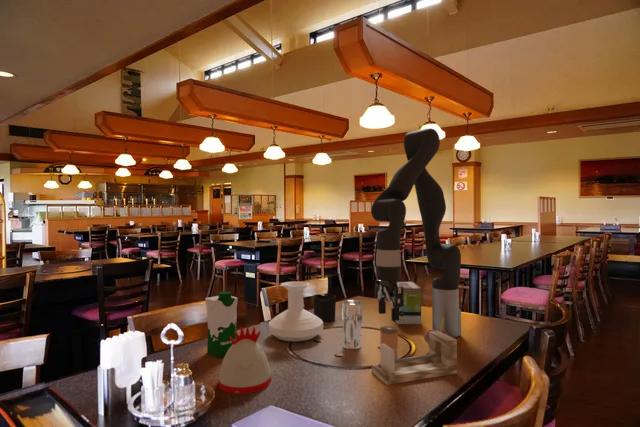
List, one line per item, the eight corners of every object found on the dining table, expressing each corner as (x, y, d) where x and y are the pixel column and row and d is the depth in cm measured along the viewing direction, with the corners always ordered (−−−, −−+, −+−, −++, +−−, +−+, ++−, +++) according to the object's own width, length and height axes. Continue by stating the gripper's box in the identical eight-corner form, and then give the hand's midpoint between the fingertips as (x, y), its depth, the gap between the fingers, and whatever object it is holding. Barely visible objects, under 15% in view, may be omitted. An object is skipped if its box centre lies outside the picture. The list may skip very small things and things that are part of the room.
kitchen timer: (275, 389, 105) (274, 332, 105) (220, 397, 101) (219, 337, 101) (266, 369, 119) (266, 318, 119) (218, 375, 115) (217, 322, 115)
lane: (438, 362, 123) (437, 330, 123) (456, 373, 114) (456, 339, 114) (371, 371, 116) (371, 338, 116) (386, 384, 107) (386, 349, 107)
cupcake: (451, 348, 134) (451, 312, 134) (451, 357, 126) (450, 319, 126) (425, 346, 137) (424, 310, 137) (422, 354, 129) (422, 317, 129)
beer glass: (361, 350, 133) (361, 305, 133) (340, 349, 135) (339, 304, 134) (363, 343, 140) (363, 300, 140) (343, 342, 141) (343, 299, 141)
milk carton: (217, 359, 126) (216, 295, 126) (202, 352, 133) (202, 291, 132) (241, 352, 132) (240, 291, 132) (226, 346, 139) (225, 287, 139)
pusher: (437, 360, 121) (437, 336, 121) (449, 367, 115) (449, 342, 115) (380, 368, 115) (380, 343, 115) (390, 376, 109) (390, 350, 109)
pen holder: (325, 315, 177) (325, 292, 177) (340, 320, 170) (340, 296, 170) (308, 319, 170) (308, 296, 170) (324, 324, 163) (324, 299, 163)
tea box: (422, 324, 162) (421, 287, 162) (396, 324, 162) (396, 287, 162) (414, 314, 177) (413, 280, 177) (390, 314, 177) (390, 281, 177)
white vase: (290, 350, 135) (290, 291, 134) (257, 336, 150) (257, 283, 149) (334, 337, 148) (334, 284, 147) (300, 325, 163) (299, 277, 162)
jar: (392, 355, 128) (392, 324, 128) (401, 362, 123) (401, 329, 123) (377, 358, 127) (377, 326, 126) (385, 364, 121) (385, 331, 121)
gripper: (411, 266, 119) (411, 321, 119) (388, 260, 132) (388, 310, 133) (388, 267, 117) (388, 324, 117) (367, 261, 130) (367, 312, 130)
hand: (388, 316), depth 125 cm, fingers open, 8 cm apart
